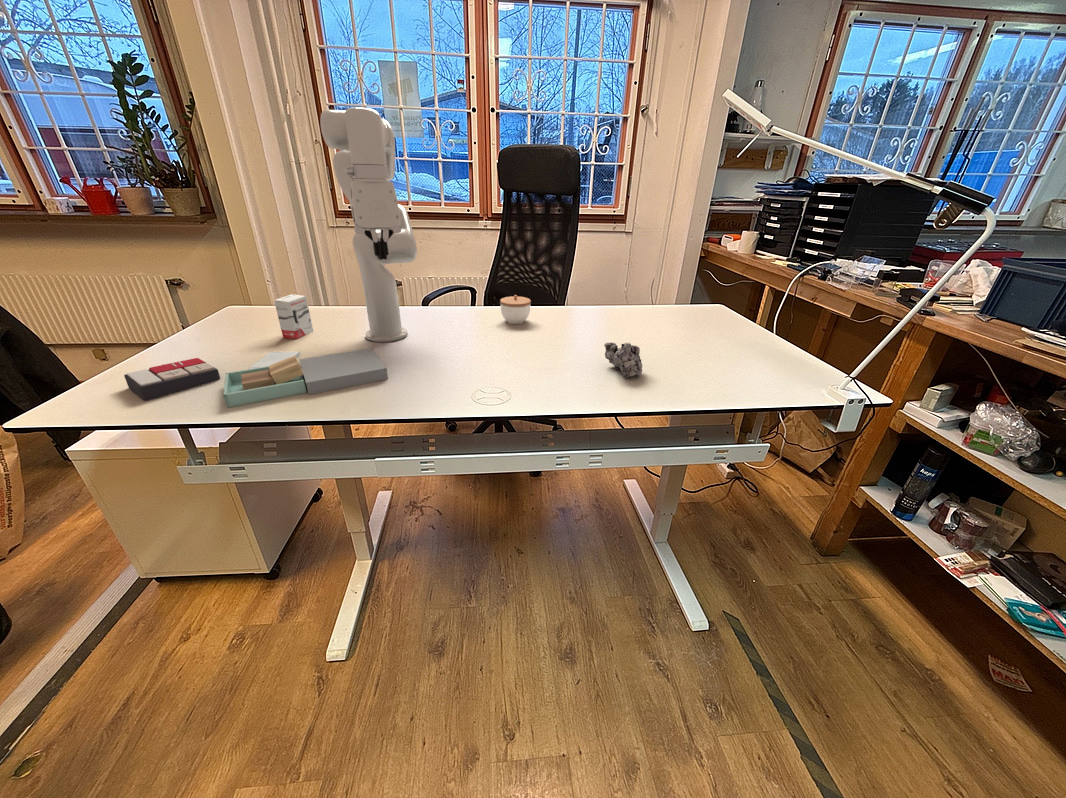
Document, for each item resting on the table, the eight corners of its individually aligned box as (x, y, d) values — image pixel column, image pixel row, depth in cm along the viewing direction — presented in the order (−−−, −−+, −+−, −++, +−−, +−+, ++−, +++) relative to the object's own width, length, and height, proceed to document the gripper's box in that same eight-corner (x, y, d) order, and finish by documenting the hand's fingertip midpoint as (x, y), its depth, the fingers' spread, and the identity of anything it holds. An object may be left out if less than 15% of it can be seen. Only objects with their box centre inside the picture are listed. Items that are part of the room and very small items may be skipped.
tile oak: (275, 376, 102) (268, 365, 100) (300, 366, 104) (294, 355, 102) (277, 385, 98) (270, 374, 96) (303, 374, 100) (297, 363, 98)
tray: (229, 384, 101) (225, 373, 99) (301, 372, 108) (298, 361, 107) (227, 407, 91) (223, 395, 89) (306, 392, 98) (303, 380, 97)
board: (301, 370, 109) (299, 359, 108) (373, 357, 118) (371, 347, 116) (308, 394, 97) (305, 382, 96) (388, 378, 106) (386, 367, 104)
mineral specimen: (599, 348, 117) (618, 326, 110) (628, 358, 120) (649, 336, 112) (600, 383, 110) (620, 362, 103) (631, 393, 113) (653, 372, 105)
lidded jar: (499, 317, 155) (499, 291, 151) (528, 317, 156) (529, 291, 152) (501, 326, 146) (500, 299, 141) (531, 325, 147) (532, 299, 142)
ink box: (296, 339, 129) (287, 301, 124) (282, 338, 130) (272, 300, 125) (314, 331, 137) (306, 294, 131) (301, 329, 138) (292, 293, 132)
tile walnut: (245, 386, 99) (241, 374, 98) (274, 380, 102) (270, 369, 101) (245, 396, 95) (241, 384, 93) (276, 390, 98) (272, 378, 96)
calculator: (217, 366, 102) (137, 384, 91) (222, 382, 104) (144, 402, 93) (199, 355, 108) (121, 371, 96) (203, 371, 109) (128, 388, 98)
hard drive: (269, 351, 117) (245, 369, 106) (299, 351, 118) (279, 368, 107) (271, 356, 118) (247, 375, 107) (301, 356, 119) (280, 374, 108)
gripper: (338, 173, 89) (353, 263, 97) (408, 175, 96) (416, 259, 104) (332, 173, 95) (347, 258, 103) (399, 175, 102) (408, 254, 110)
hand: (382, 258), depth 104 cm, fingers closed
